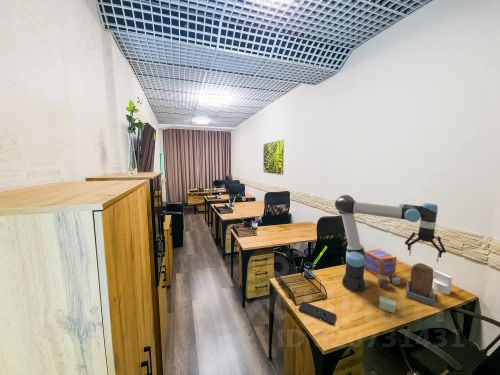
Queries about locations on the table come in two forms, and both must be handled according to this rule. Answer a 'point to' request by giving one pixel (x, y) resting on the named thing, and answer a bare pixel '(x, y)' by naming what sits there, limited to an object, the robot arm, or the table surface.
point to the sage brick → (387, 304)
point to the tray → (412, 295)
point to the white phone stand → (442, 282)
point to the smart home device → (318, 312)
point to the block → (421, 279)
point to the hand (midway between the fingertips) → (422, 258)
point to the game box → (380, 263)
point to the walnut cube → (384, 281)
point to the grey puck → (395, 280)
